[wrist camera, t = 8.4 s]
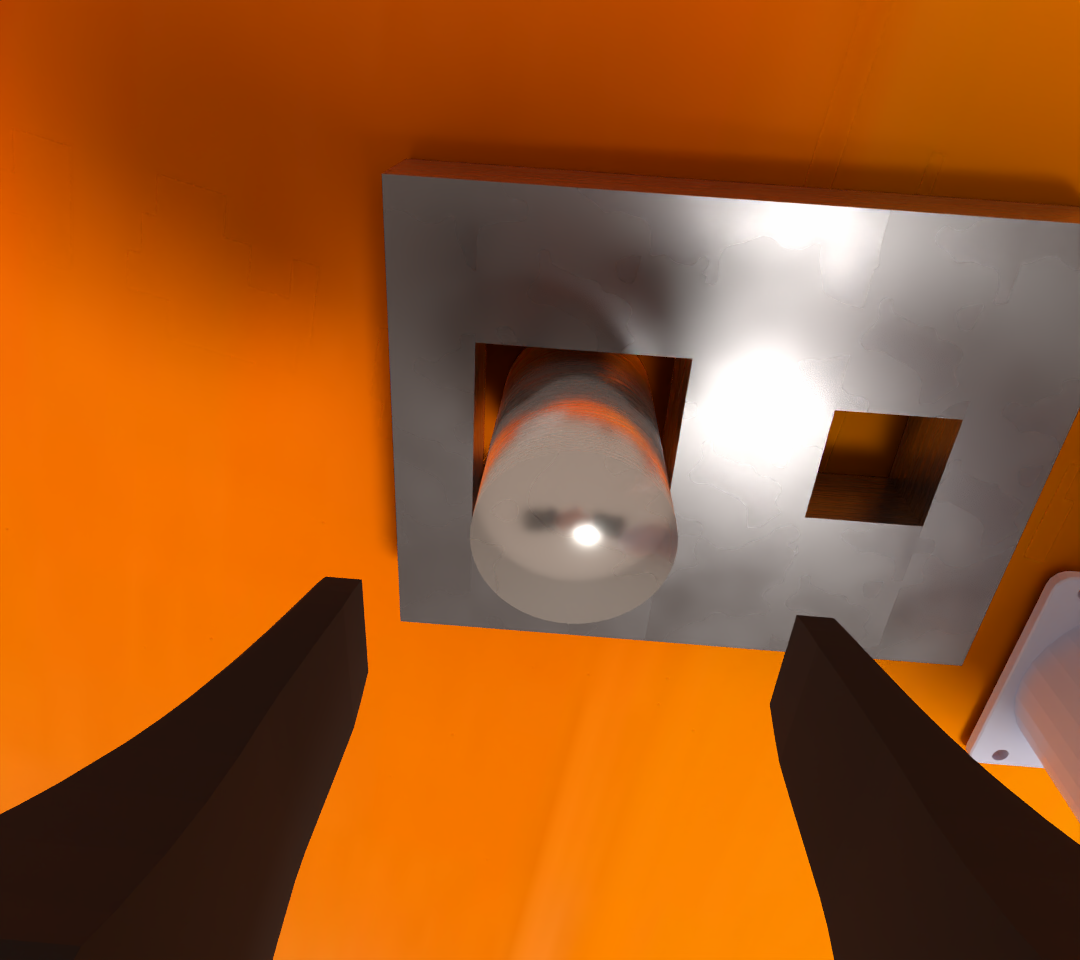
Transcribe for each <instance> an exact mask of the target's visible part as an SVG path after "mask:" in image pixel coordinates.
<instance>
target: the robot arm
mask: <svg viewBox="0 0 1080 960" xmlns="http://www.w3.org/2000/svg"><path fill="white" fill-rule="evenodd" d="M367 674H368V662H367V647H366V633H365V619H364V605H363V591H362V580H359V579H347V578H335V577H325V578H323V579H322V580H321V581H320V582H318V583H317V584H316V585H315V586H314V587H313V588H312V589H311V590H310V591H309V592H308V593H307V594H306V595H305V596H304V597H303V598H302V599H301V600H300V601H299V602H297V603H296V604H295V605H294V606H293V607H292V608H291V609H290V610H289V611H288V612H287V613H286V614H285V615H284V616H283V617H282V618H281V619H280V620H279V621H278V622H276V623H275V624H274V625H273V626H272V627H271V628H270V629H269V630H268V631H267V632H266V633H265V634H263V635H262V636H261V637H260V638H259V639H258V640H257V641H256V642H255V643H253V644H252V645H251V646H250V647H249V648H248V649H247V650H246V651H245V652H243V653H242V654H241V655H240V656H239V657H238V658H237V659H236V660H234V661H233V662H232V663H231V664H230V665H229V666H227V667H226V668H225V669H224V670H222V671H221V672H220V673H219V674H217V675H216V676H215V677H214V678H213V679H211V680H210V681H209V682H208V683H206V684H205V685H204V686H203V687H202V688H200V689H199V690H198V691H197V692H195V693H194V694H193V695H192V696H190V697H189V698H188V699H187V700H185V701H184V702H183V703H181V704H180V705H179V706H177V707H176V708H175V709H173V710H172V711H171V712H169V713H168V714H166V715H165V716H164V717H162V718H161V719H160V720H158V721H157V722H155V723H154V724H152V725H151V726H149V727H148V728H147V729H145V730H144V731H142V732H141V733H139V734H138V735H136V736H135V737H133V738H132V739H130V740H129V741H127V742H126V743H124V744H123V745H121V746H120V747H118V748H116V749H115V750H113V751H111V752H110V753H108V754H106V755H105V756H103V757H101V758H100V759H98V760H96V761H95V762H93V763H91V764H90V765H88V766H86V767H85V768H83V769H81V770H80V771H78V772H77V773H75V774H73V775H72V776H70V777H68V778H67V779H65V780H63V781H62V782H60V783H58V784H56V785H55V786H53V787H51V788H49V789H47V790H45V791H44V792H42V793H40V794H38V795H36V796H34V797H32V798H31V799H29V800H27V801H25V802H23V803H21V804H20V805H18V806H16V807H14V808H12V809H10V810H8V811H6V812H4V813H2V814H0V960H273V956H274V953H275V949H276V945H277V942H278V938H279V935H280V931H281V928H282V924H283V921H284V917H285V914H286V911H287V907H288V904H289V900H290V897H291V893H292V890H293V886H294V883H295V880H296V877H297V874H298V871H299V868H300V865H301V862H302V859H303V857H304V854H305V851H306V848H307V846H308V843H309V841H310V838H311V836H312V833H313V831H314V828H315V826H316V823H317V820H318V818H319V815H320V813H321V810H322V808H323V805H324V803H325V800H326V798H327V795H328V793H329V790H330V788H331V785H332V782H333V780H334V777H335V775H336V772H337V770H338V767H339V765H340V762H341V759H342V757H343V754H344V752H345V749H346V747H347V744H348V741H349V739H350V736H351V733H352V731H353V728H354V725H355V721H356V717H357V714H358V710H359V706H360V702H361V698H362V694H363V690H364V686H365V682H366V678H367ZM770 709H771V715H772V722H773V728H774V735H775V741H776V746H777V752H778V757H779V763H780V766H781V770H782V773H783V777H784V780H785V784H786V787H787V790H788V794H789V797H790V800H791V804H792V807H793V811H794V814H795V817H796V820H797V824H798V827H799V830H800V833H801V837H802V840H803V843H804V847H805V850H806V853H807V856H808V860H809V863H810V866H811V870H812V873H813V876H814V879H815V883H816V886H817V889H818V892H819V896H820V900H821V903H822V907H823V911H824V915H825V919H826V923H827V926H828V931H829V936H830V941H831V946H832V951H833V956H834V960H1080V845H1079V844H1078V843H1077V842H1075V841H1074V840H1072V839H1071V838H1070V837H1068V836H1067V835H1066V834H1064V833H1063V832H1062V831H1061V830H1059V829H1058V828H1057V827H1055V826H1054V825H1053V824H1051V823H1050V822H1049V821H1047V820H1046V819H1045V818H1044V817H1042V816H1041V815H1040V814H1039V813H1037V812H1036V811H1035V810H1034V809H1032V808H1031V807H1030V806H1029V805H1028V804H1026V803H1025V802H1024V801H1023V800H1021V799H1020V798H1019V797H1018V796H1016V795H1015V794H1014V793H1013V792H1011V791H1010V790H1009V789H1008V788H1007V787H1005V786H1004V785H1003V784H1002V783H1001V782H999V781H998V780H997V779H996V778H995V777H994V776H992V775H991V774H990V773H989V772H988V771H987V770H985V769H984V768H983V767H982V766H981V765H980V764H979V763H990V764H1002V765H1014V766H1026V767H1039V768H1045V770H1046V771H1047V773H1048V774H1049V776H1050V777H1051V779H1052V781H1053V782H1054V784H1055V785H1056V787H1057V788H1058V790H1059V791H1060V793H1061V795H1062V796H1063V798H1064V799H1065V801H1066V802H1067V804H1068V805H1069V807H1070V809H1071V810H1072V812H1073V813H1074V815H1075V816H1076V818H1077V819H1078V821H1079V823H1080V572H1077V571H1063V572H1060V573H1058V574H1055V575H1054V576H1053V577H1051V578H1050V579H1049V581H1048V582H1047V583H1046V585H1045V587H1044V589H1043V591H1042V593H1041V595H1040V597H1039V599H1038V601H1037V603H1036V606H1035V608H1034V610H1033V612H1032V614H1031V616H1030V618H1029V620H1028V622H1027V624H1026V626H1025V628H1024V630H1023V632H1022V634H1021V636H1020V638H1019V640H1018V642H1017V644H1016V646H1015V648H1014V650H1013V652H1012V654H1011V656H1010V658H1009V660H1008V662H1007V664H1006V666H1005V668H1004V670H1003V672H1002V674H1001V676H1000V678H999V680H998V682H997V684H996V686H995V688H994V690H993V692H992V694H991V696H990V698H989V700H988V702H987V704H986V706H985V708H984V710H983V712H982V714H981V716H980V718H979V720H978V722H977V724H976V726H975V728H974V730H973V732H972V734H971V736H970V738H969V740H968V742H967V744H966V750H967V752H968V753H967V752H966V751H965V750H964V749H962V748H961V747H960V746H959V745H958V744H957V743H956V742H955V741H954V740H953V739H952V738H950V737H949V736H948V735H947V734H946V733H945V732H944V731H943V730H942V729H941V728H940V727H939V726H938V725H937V724H936V723H935V722H934V721H933V720H932V719H931V718H930V717H929V716H928V715H927V714H926V713H925V712H924V711H923V710H922V709H921V708H920V707H919V706H918V705H917V704H916V703H915V702H914V701H913V700H912V699H911V698H910V697H909V696H908V695H907V694H906V693H905V692H904V691H903V690H902V689H901V688H900V687H899V686H898V685H897V684H896V683H895V682H894V681H893V680H892V679H891V678H890V676H889V675H888V674H887V673H886V672H885V671H884V670H883V669H882V668H881V667H880V666H879V665H878V664H877V663H876V662H875V661H874V660H873V658H872V657H871V656H870V655H869V654H868V653H867V652H866V651H865V650H864V649H863V648H862V647H861V646H860V645H859V643H858V642H857V641H856V640H855V639H854V638H853V637H852V636H851V635H850V634H849V633H848V632H847V631H846V630H845V629H844V628H843V627H842V626H841V625H840V624H839V623H838V622H837V621H836V620H835V619H834V618H829V617H817V616H804V615H796V618H795V622H794V625H793V628H792V632H791V635H790V639H789V642H788V645H787V649H786V652H785V655H784V659H783V662H782V665H781V669H780V672H779V675H778V679H777V682H776V685H775V689H774V692H773V695H772V699H771V702H770ZM978 762H979V763H978Z"/></svg>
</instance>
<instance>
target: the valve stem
mask: <svg viewBox="0 0 1080 960" xmlns="http://www.w3.org/2000/svg"><path fill="white" fill-rule="evenodd" d="M470 544H471V551H472V555H473V558H474V562H475V564H476V566H477V568H478V571H479V572H480V574H481V576H482V577H483V579H484V580H485V582H486V583H487V584H488V585H489V587H490V588H491V589H492V590H493V591H494V592H495V593H496V594H497V595H498V596H499V597H500V598H501V599H503V600H504V601H506V602H507V603H508V604H510V605H511V606H513V607H515V608H516V609H518V610H520V611H522V612H524V613H526V614H529V615H531V616H533V617H537V618H540V619H543V620H547V621H552V622H557V623H568V624H584V623H593V622H599V621H603V620H608V619H611V618H614V617H617V616H620V615H622V614H624V613H626V612H629V611H631V610H632V609H634V608H636V607H637V606H639V605H641V604H642V603H643V602H645V601H646V600H647V599H648V598H650V597H651V596H652V595H653V594H654V593H655V592H656V591H657V590H658V589H659V588H660V586H661V585H662V584H663V582H664V581H665V580H666V578H667V576H668V574H669V572H670V571H671V569H672V566H673V563H674V561H675V557H676V552H677V547H678V532H677V524H676V519H675V513H674V508H673V503H672V498H671V492H670V487H669V482H668V477H667V472H666V466H665V461H664V456H663V451H662V445H661V440H660V435H659V430H658V424H657V419H656V414H655V409H654V403H653V398H652V393H651V388H650V383H649V379H648V375H647V373H646V370H645V368H644V366H643V364H642V363H641V361H640V359H639V358H638V357H637V355H635V354H622V353H609V352H595V351H582V350H568V349H555V348H542V347H528V346H527V347H526V348H525V349H524V350H523V351H522V352H521V353H520V354H519V355H518V357H517V358H516V360H515V361H514V363H513V365H512V366H511V368H510V370H509V373H508V376H507V379H506V383H505V387H504V391H503V395H502V399H501V403H500V407H499V411H498V415H497V419H496V424H495V428H494V432H493V436H492V440H491V444H490V448H489V452H488V456H487V460H486V464H485V468H484V472H483V476H482V480H481V484H480V488H479V493H478V497H477V501H476V505H475V509H474V513H473V517H472V522H471V527H470Z"/></svg>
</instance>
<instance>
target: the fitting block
mask: <svg viewBox="0 0 1080 960" xmlns="http://www.w3.org/2000/svg"><path fill="white" fill-rule="evenodd" d="M382 192H383V215H384V239H385V262H386V286H387V310H388V333H389V357H390V381H391V404H392V428H393V451H394V475H395V499H396V522H397V546H398V570H399V593H400V617H401V621H407V622H419V623H432V624H444V625H457V626H469V627H482V628H495V629H507V630H520V631H532V632H545V633H557V634H570V635H582V636H595V637H608V638H620V639H633V640H645V641H658V642H670V643H683V644H695V645H708V646H721V647H733V648H746V649H758V650H771V651H783V652H786V649H787V645H788V642H789V639H790V635H791V632H792V628H793V625H794V622H795V618H796V615H804V616H817V617H829V618H834V619H835V620H836V621H837V622H838V623H839V624H840V625H841V626H842V627H843V628H844V629H845V630H846V631H847V632H848V633H849V634H850V635H851V636H852V637H853V638H854V639H855V640H856V641H857V642H858V643H859V645H860V646H861V647H862V648H863V649H864V650H865V651H866V652H867V653H868V654H869V655H870V656H871V657H872V658H873V659H884V660H896V661H909V662H921V663H934V664H947V665H959V666H962V664H963V662H964V660H965V657H966V655H967V653H968V651H969V649H970V646H971V644H972V642H973V640H974V638H975V636H976V633H977V631H978V629H979V627H980V625H981V622H982V620H983V618H984V616H985V614H986V611H987V609H988V607H989V605H990V603H991V601H992V598H993V596H994V594H995V592H996V590H997V587H998V585H999V583H1000V581H1001V579H1002V577H1003V574H1004V572H1005V570H1006V568H1007V566H1008V563H1009V561H1010V559H1011V557H1012V555H1013V552H1014V550H1015V548H1016V546H1017V544H1018V542H1019V539H1020V537H1021V535H1022V533H1023V531H1024V528H1025V526H1026V524H1027V522H1028V520H1029V517H1030V515H1031V513H1032V511H1033V509H1034V507H1035V504H1036V502H1037V500H1038V498H1039V496H1040V493H1041V491H1042V489H1043V487H1044V485H1045V483H1046V480H1047V478H1048V476H1049V474H1050V472H1051V469H1052V467H1053V465H1054V463H1055V461H1056V458H1057V456H1058V454H1059V452H1060V450H1061V448H1062V445H1063V443H1064V441H1065V439H1066V437H1067V434H1068V432H1069V430H1070V428H1071V426H1072V424H1073V421H1074V419H1075V417H1076V415H1077V413H1078V410H1079V408H1080V207H1079V206H1065V205H1051V204H1037V203H1023V202H1009V201H995V200H981V199H967V198H953V197H939V196H925V195H911V194H897V193H883V192H869V191H855V190H841V189H827V188H813V187H799V186H785V185H771V184H757V183H743V182H729V181H715V180H701V179H686V178H672V177H658V176H644V175H630V174H616V173H602V172H588V171H574V170H560V169H546V168H532V167H518V166H504V165H490V164H476V163H462V162H448V161H434V160H420V159H405V160H403V161H402V162H400V163H398V164H397V165H395V166H393V167H392V168H390V169H389V170H387V171H385V172H384V173H382ZM486 343H488V344H501V345H515V346H528V347H542V348H555V349H568V350H582V351H595V352H609V353H622V354H635V355H649V356H662V357H675V362H674V368H673V375H672V381H671V387H670V394H669V400H668V406H667V413H666V419H665V425H664V432H663V438H662V444H661V445H662V451H663V456H664V461H665V466H666V472H667V477H668V482H669V487H670V492H671V498H672V503H673V508H674V513H675V519H676V524H677V532H678V547H677V552H676V557H675V561H674V563H673V566H672V569H671V571H670V572H669V574H668V576H667V578H666V580H665V581H664V582H663V584H662V585H661V586H660V588H659V589H658V590H657V591H656V592H655V593H654V594H653V595H652V596H651V597H650V598H648V599H647V600H646V601H645V602H643V603H642V604H641V605H639V606H637V607H636V608H634V609H632V610H631V611H629V612H626V613H624V614H622V615H620V616H617V617H614V618H611V619H608V620H603V621H599V622H593V623H584V624H568V623H557V622H552V621H547V620H543V619H540V618H537V617H533V616H531V615H529V614H526V613H524V612H522V611H520V610H518V609H516V608H515V607H513V606H511V605H510V604H508V603H507V602H506V601H504V600H503V599H501V598H500V597H499V596H498V595H497V594H496V593H495V592H494V591H493V590H492V589H491V588H490V587H489V585H488V584H487V583H486V582H485V580H484V579H483V577H482V576H481V574H480V572H479V571H478V568H477V566H476V564H475V562H474V558H473V555H472V551H471V544H470V527H471V522H472V517H473V513H474V509H475V505H476V501H477V497H478V493H479V488H480V484H481V480H482V476H483V457H484V417H485V378H486ZM835 410H840V411H853V412H867V413H880V414H893V415H906V416H909V418H908V421H907V424H906V427H905V430H904V433H903V436H902V439H901V442H900V445H899V448H898V451H897V454H896V457H895V460H894V463H893V466H892V469H891V472H890V475H889V478H882V477H869V476H856V475H843V474H830V473H817V472H818V468H819V465H820V461H821V458H822V454H823V451H824V447H825V443H826V440H827V436H828V433H829V429H830V426H831V422H832V418H833V415H834V411H835Z"/></svg>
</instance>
